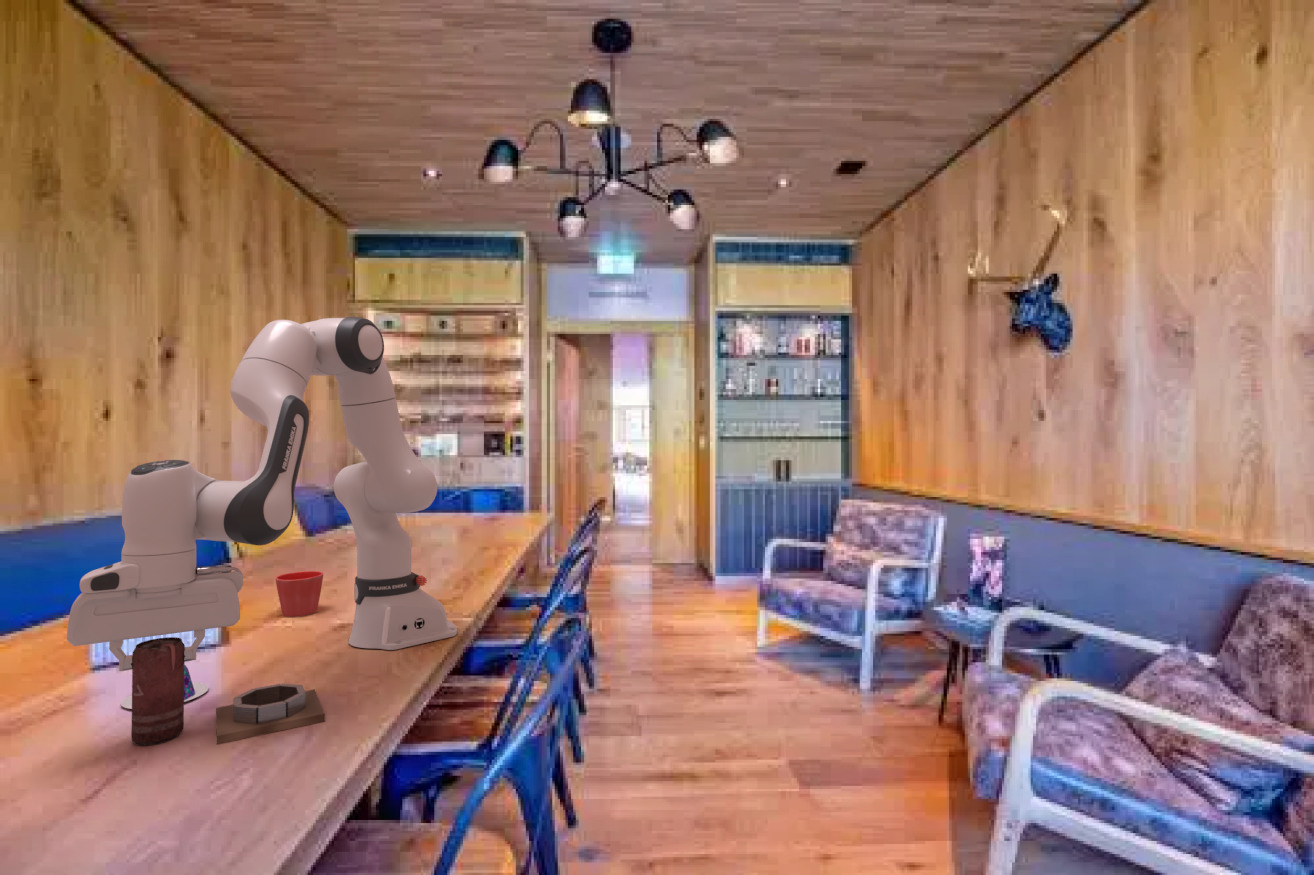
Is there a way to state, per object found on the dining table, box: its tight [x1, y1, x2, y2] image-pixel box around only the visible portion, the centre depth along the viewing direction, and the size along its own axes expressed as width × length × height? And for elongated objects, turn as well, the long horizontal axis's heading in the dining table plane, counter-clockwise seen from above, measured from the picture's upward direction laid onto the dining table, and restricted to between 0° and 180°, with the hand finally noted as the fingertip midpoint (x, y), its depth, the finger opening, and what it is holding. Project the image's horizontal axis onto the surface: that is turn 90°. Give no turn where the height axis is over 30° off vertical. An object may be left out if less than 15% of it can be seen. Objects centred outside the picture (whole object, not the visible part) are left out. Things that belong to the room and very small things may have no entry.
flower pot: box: [275, 570, 324, 618], centre depth 166 cm, size 11×11×10 cm
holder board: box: [215, 689, 326, 745], centre depth 103 cm, size 14×12×1 cm
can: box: [130, 636, 186, 746], centre depth 96 cm, size 6×6×14 cm
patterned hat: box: [120, 664, 210, 710], centre depth 111 cm, size 12×12×5 cm
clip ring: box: [232, 683, 306, 725], centre depth 103 cm, size 10×10×2 cm
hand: (158, 664), depth 96 cm, fingers closed on can, 6 cm apart
